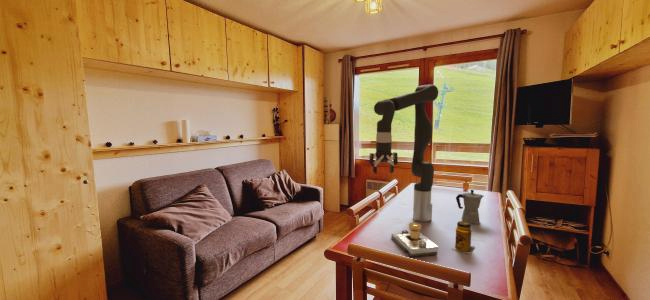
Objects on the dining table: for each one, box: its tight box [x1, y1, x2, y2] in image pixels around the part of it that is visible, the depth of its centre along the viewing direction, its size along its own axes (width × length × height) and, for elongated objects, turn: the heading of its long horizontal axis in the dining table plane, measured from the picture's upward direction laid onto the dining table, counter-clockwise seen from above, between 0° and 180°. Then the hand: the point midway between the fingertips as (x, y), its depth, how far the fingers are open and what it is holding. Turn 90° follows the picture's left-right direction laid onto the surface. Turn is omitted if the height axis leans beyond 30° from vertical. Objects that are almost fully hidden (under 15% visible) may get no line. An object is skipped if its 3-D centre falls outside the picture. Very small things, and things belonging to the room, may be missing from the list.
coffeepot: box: [455, 189, 484, 225], centre depth 152 cm, size 15×9×18 cm, turn 92°
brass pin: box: [408, 222, 422, 241], centre depth 123 cm, size 5×5×10 cm
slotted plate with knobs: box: [391, 229, 439, 258], centre depth 123 cm, size 12×20×6 cm, turn 10°
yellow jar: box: [452, 220, 475, 255], centre depth 120 cm, size 7×8×12 cm
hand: (383, 173), depth 138 cm, fingers open, 8 cm apart
